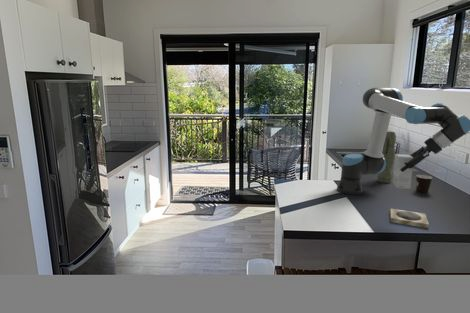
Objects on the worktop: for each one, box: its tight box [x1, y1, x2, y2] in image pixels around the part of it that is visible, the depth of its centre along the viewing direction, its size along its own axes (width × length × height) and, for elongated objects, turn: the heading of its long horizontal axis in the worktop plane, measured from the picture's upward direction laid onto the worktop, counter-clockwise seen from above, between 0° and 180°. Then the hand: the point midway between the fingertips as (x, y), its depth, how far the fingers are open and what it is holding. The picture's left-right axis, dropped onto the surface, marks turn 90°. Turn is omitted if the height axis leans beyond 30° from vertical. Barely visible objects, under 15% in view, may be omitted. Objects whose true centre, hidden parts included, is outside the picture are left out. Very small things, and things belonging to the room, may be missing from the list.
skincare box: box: [391, 153, 413, 190], centre depth 154 cm, size 8×7×16 cm
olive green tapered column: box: [377, 131, 397, 184], centre depth 218 cm, size 9×12×35 cm
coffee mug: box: [415, 174, 433, 195], centre depth 200 cm, size 12×9×10 cm
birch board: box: [389, 208, 430, 229], centre depth 157 cm, size 16×14×2 cm
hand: (394, 172), depth 155 cm, fingers closed on skincare box, 9 cm apart
